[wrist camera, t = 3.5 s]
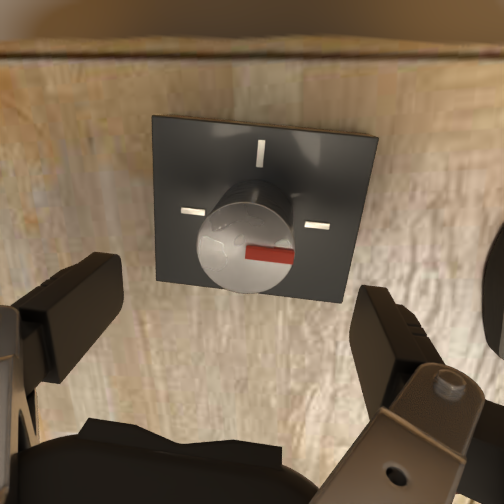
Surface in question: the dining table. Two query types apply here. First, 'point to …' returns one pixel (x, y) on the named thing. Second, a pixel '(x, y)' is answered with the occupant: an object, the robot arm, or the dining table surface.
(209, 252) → the silver dial knob
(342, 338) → the dining table surface
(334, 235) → the dial base plate
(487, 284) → the computer mouse
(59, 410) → the dining table surface
